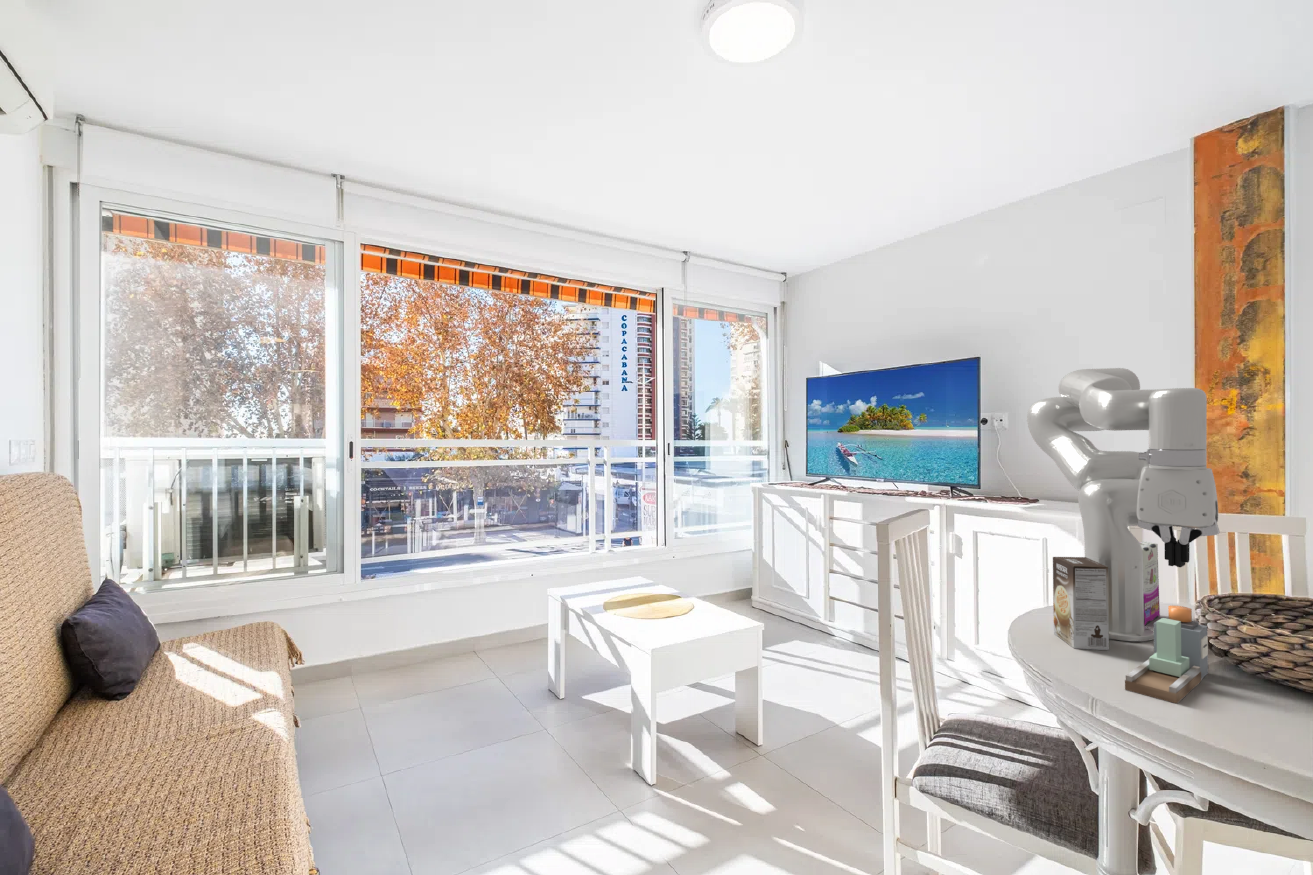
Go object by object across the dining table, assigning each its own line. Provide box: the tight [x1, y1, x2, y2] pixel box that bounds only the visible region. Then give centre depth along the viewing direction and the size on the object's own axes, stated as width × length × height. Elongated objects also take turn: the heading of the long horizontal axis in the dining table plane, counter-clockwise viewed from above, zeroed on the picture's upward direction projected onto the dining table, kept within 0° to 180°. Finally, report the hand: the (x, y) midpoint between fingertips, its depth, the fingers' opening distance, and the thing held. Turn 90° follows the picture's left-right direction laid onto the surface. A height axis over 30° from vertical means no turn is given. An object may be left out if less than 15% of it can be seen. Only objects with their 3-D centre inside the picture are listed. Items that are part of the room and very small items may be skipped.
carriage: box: [1148, 617, 1189, 677], centre depth 98 cm, size 5×4×8 cm
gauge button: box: [1167, 604, 1193, 622], centre depth 102 cm, size 3×3×2 cm
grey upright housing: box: [1153, 615, 1209, 680], centre depth 102 cm, size 5×6×9 cm
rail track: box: [1124, 658, 1202, 705], centre depth 96 cm, size 14×6×2 cm, turn 126°
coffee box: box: [1052, 556, 1110, 651], centre depth 117 cm, size 9×6×16 cm
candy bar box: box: [1138, 540, 1161, 626], centre depth 131 cm, size 11×5×16 cm, turn 126°
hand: (1176, 565), depth 102 cm, fingers closed
